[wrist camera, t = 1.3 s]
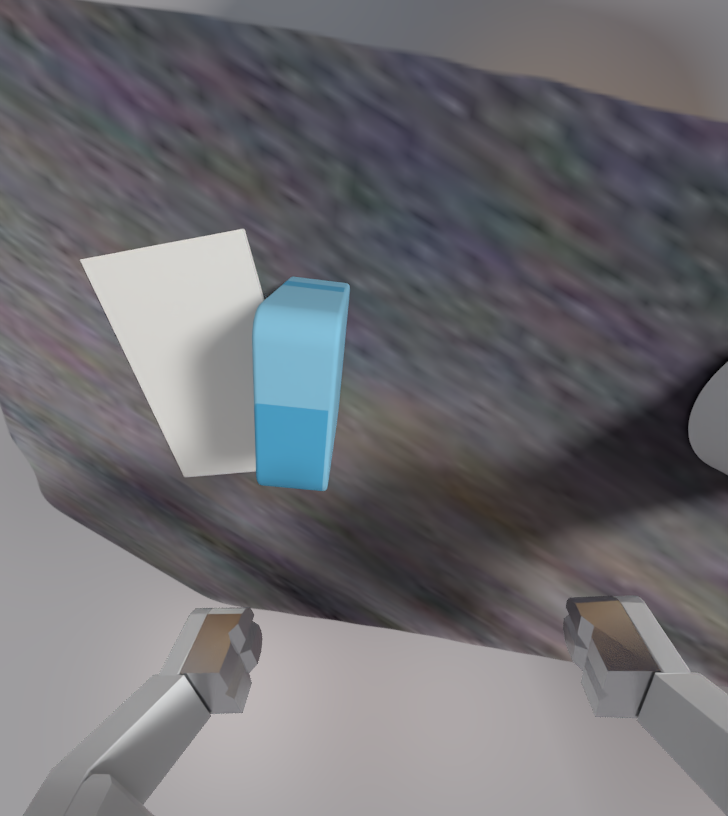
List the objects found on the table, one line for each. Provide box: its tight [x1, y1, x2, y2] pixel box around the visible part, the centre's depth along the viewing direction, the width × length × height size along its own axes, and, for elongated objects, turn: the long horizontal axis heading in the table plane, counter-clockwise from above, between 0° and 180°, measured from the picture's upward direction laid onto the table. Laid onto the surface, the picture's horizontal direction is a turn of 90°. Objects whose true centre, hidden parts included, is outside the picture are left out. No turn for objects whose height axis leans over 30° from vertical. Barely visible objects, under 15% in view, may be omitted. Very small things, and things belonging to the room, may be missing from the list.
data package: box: [252, 277, 350, 491], centre depth 26 cm, size 12×4×12 cm, turn 173°
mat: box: [80, 229, 264, 477], centre depth 33 cm, size 14×22×1 cm, turn 9°
